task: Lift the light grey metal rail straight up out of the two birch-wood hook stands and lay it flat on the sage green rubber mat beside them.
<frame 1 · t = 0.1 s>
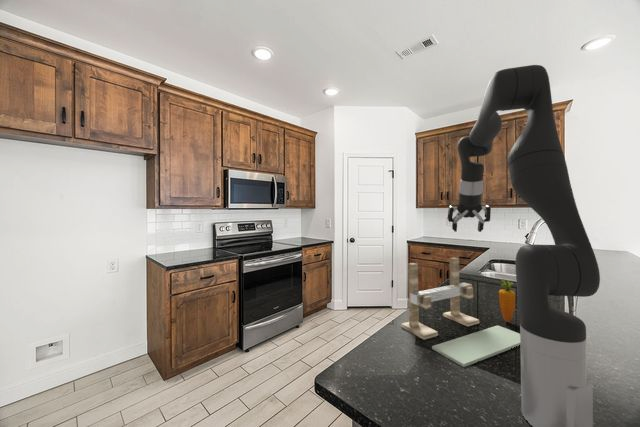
hand: (467, 230, 104), 31 cm above the table, tool tilted 20°, fingers open, 8 cm apart
hook stands: (443, 326, 91), on the table
mat: (483, 344, 78), on the table
carrot: (507, 323, 92), on the table
rail: (442, 297, 90), point 10 cm above the table, touching hook stands
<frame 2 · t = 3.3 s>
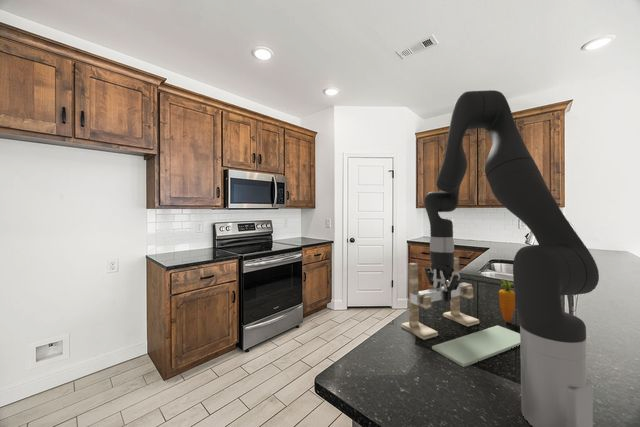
hand: (442, 299, 90), 9 cm above the table, tool pointing down, fingers closed on rail, 3 cm apart
rail: (442, 297, 90), point 10 cm above the table, touching gripper, hook stands
everything else where it was.
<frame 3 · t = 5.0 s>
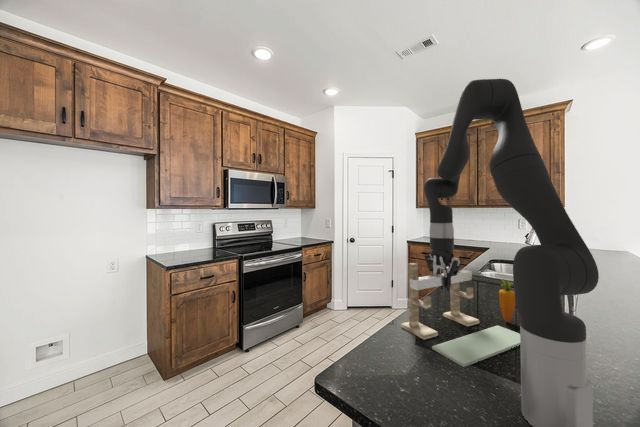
hand: (442, 286, 90), 14 cm above the table, tool pointing down, fingers closed on rail, 3 cm apart
rail: (442, 283, 90), point 15 cm above the table, touching gripper
everything else where it was.
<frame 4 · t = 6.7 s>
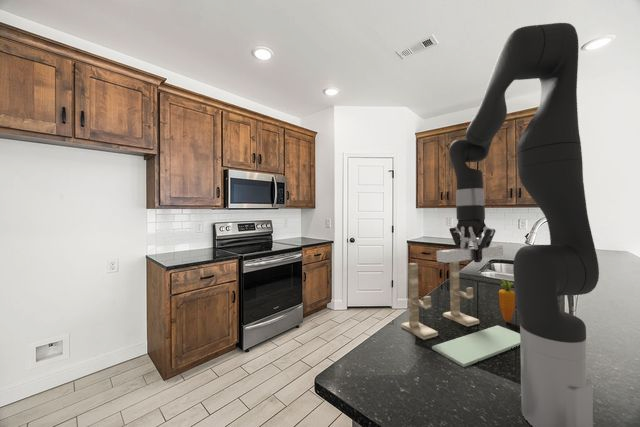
hand: (471, 261, 80), 24 cm above the table, tool pointing down, fingers closed on rail, 3 cm apart
rail: (471, 258, 80), point 25 cm above the table, touching gripper
everything else where it was.
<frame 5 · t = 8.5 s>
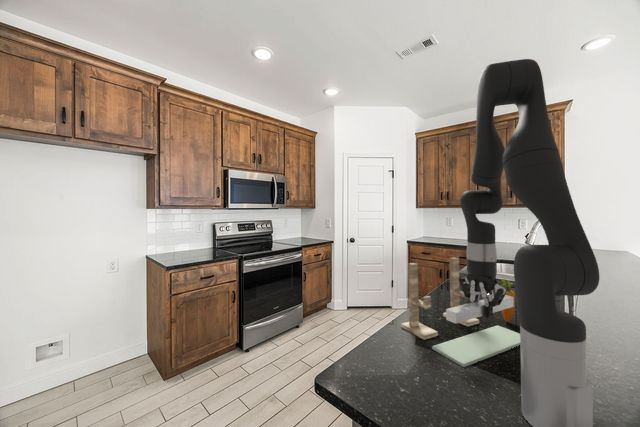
hand: (481, 315, 78), 8 cm above the table, tool pointing down, fingers closed on rail, 3 cm apart
rail: (481, 312, 78), point 9 cm above the table, touching gripper
everything else where it was.
when the fingers open (2 cm above the table, at t = 10.0 s): rail drops 2 cm, resting on mat.
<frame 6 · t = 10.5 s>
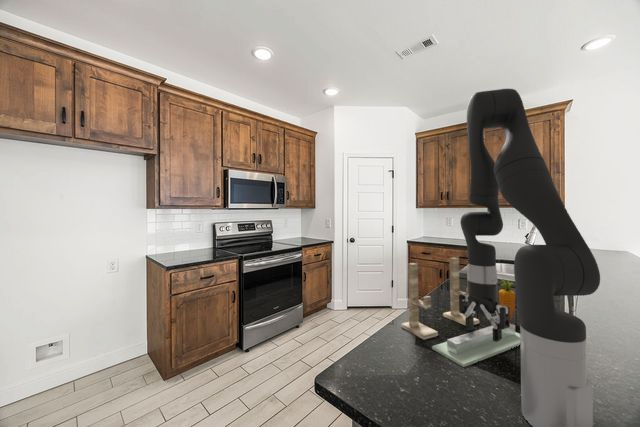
hand: (482, 334, 78), 3 cm above the table, tool pointing down, fingers open, 7 cm apart
rail: (483, 342, 78), point 1 cm above the table, touching mat
everything else where it was.
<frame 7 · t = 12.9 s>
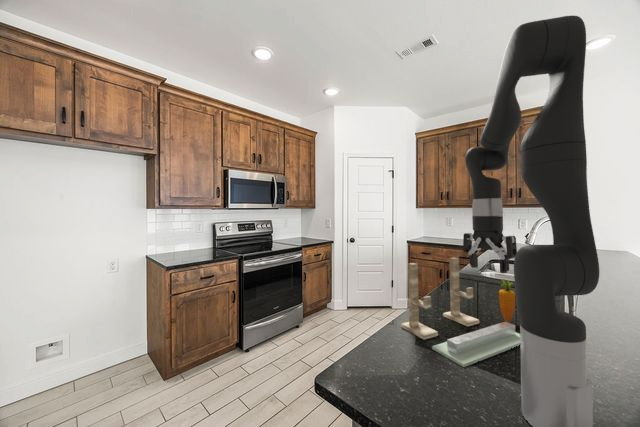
hand: (488, 270, 77), 22 cm above the table, tool pointing down, fingers open, 8 cm apart
nothing on the table moved.
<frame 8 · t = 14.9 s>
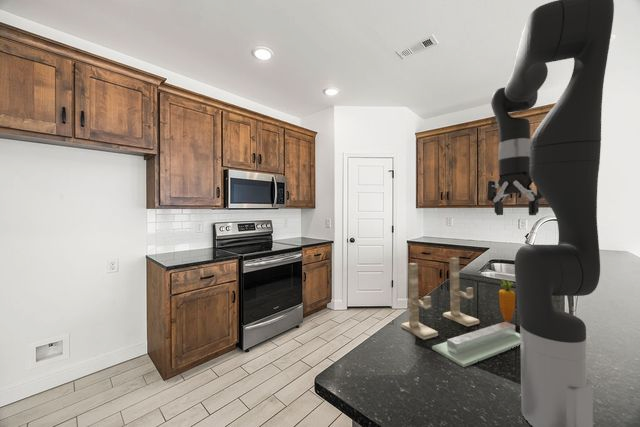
hand: (515, 215, 74), 38 cm above the table, tool pointing down, fingers open, 8 cm apart
nothing on the table moved.
at the end: rail inside the target area on the mat (0.0 cm from its centre), point 0.8 cm above the mat's base; rail tilted 0°; the gripper is holding nothing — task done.
